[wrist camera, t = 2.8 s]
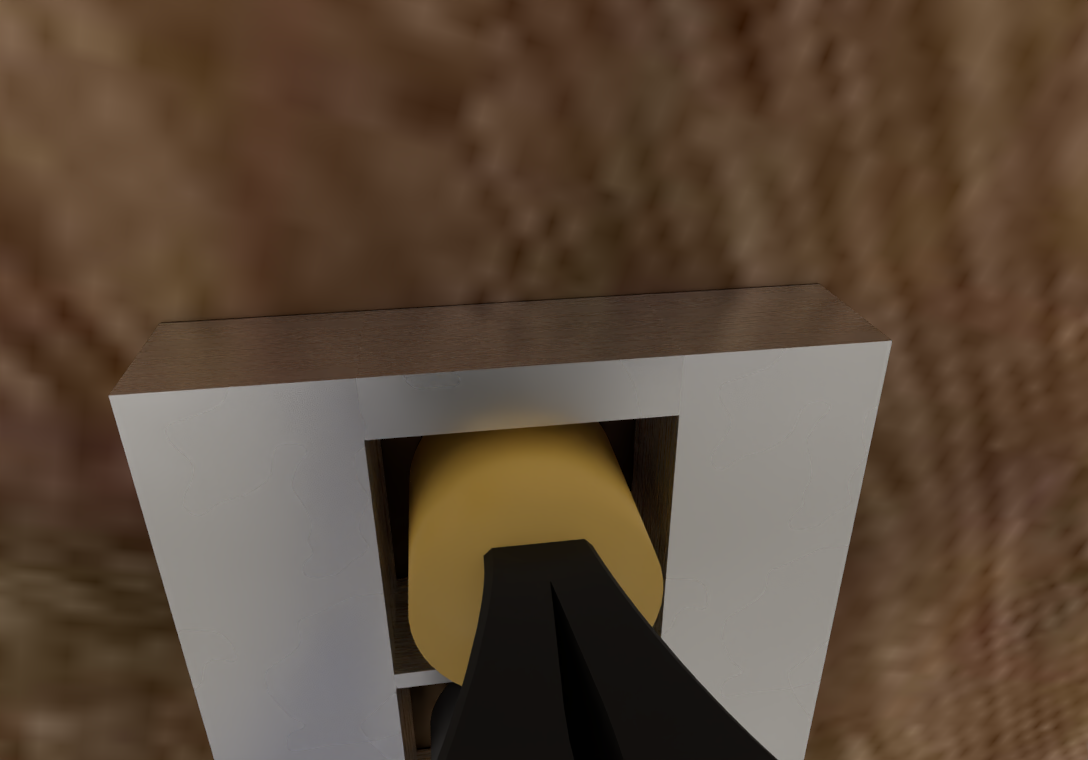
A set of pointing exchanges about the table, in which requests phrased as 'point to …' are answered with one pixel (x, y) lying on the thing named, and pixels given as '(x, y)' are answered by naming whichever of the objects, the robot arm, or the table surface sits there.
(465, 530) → the amber button
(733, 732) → the robot arm
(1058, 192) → the table surface
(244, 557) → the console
